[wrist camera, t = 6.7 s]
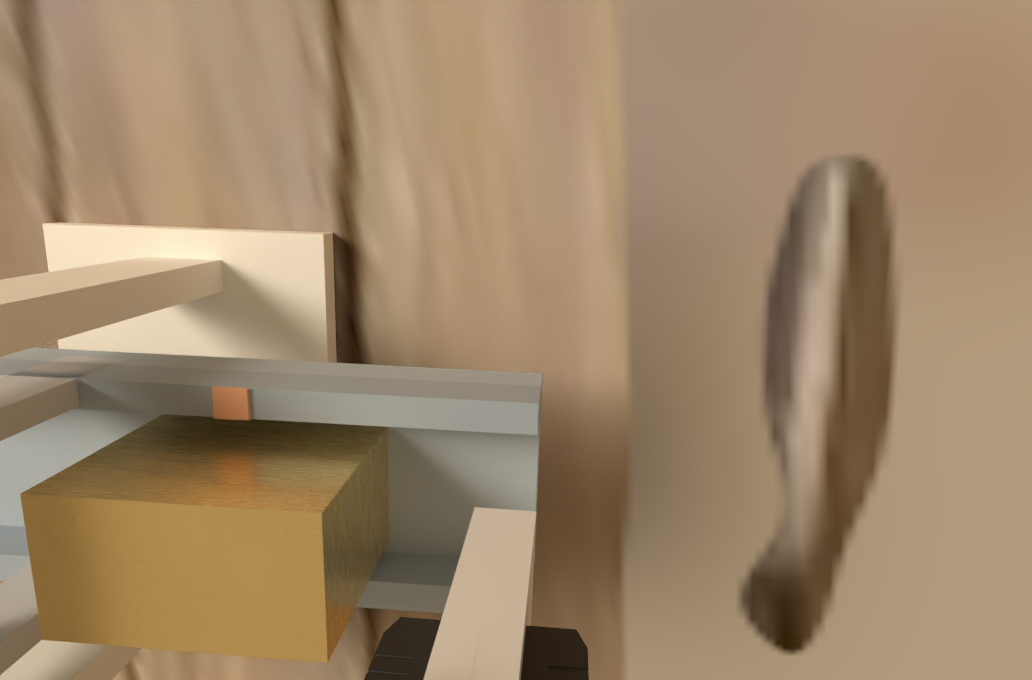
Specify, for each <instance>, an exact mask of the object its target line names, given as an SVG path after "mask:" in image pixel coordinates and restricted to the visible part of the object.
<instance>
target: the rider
mask: <svg viewBox="0 0 1032 680" xmlns="http://www.w3.org/2000/svg"><path fill="white" fill-rule="evenodd" d="M20 497H21V503H22V510H23V517H24V523H25V530H26V536H27V543H28V550H29V556H30V563H31V570H32V576H33V583H34V589H35V596H36V603H37V609H38V616H39V623H40V629H41V636H42V640H49V641H62V642H74V643H87V644H99V645H112V646H124V647H137V648H149V649H162V650H174V651H187V652H200V653H212V654H225V655H237V656H250V657H262V658H275V659H287V660H300V661H312V662H325V663H328V661H329V659H330V657H331V655H332V653H333V651H334V649H335V647H336V645H337V643H338V641H339V639H340V637H341V635H342V633H343V631H344V629H345V627H346V625H347V623H348V621H349V619H350V617H351V615H352V613H353V611H354V609H355V607H356V605H357V603H358V601H359V599H360V597H361V595H362V593H363V591H364V589H365V587H366V586H367V584H368V582H369V580H370V578H371V576H372V574H373V572H374V570H375V568H376V566H377V564H378V562H379V560H380V558H381V556H382V554H383V552H384V550H385V548H386V546H387V544H388V542H389V492H388V427H383V426H365V425H348V424H330V423H312V422H294V421H277V420H259V419H250V420H249V421H248V420H231V419H214V417H206V416H188V415H170V414H162V415H161V416H159V417H157V418H155V419H153V420H152V421H150V422H148V423H146V424H144V425H143V426H141V427H139V428H137V429H136V430H134V431H132V432H130V433H128V434H127V435H125V436H123V437H121V438H119V439H118V440H116V441H114V442H112V443H110V444H109V445H107V446H105V447H103V448H101V449H100V450H98V451H96V452H94V453H93V454H91V455H89V456H87V457H85V458H84V459H82V460H80V461H78V462H76V463H75V464H73V465H71V466H69V467H67V468H66V469H64V470H62V471H60V472H59V473H57V474H55V475H53V476H51V477H50V478H48V479H46V480H44V481H42V482H41V483H39V484H37V485H35V486H33V487H32V488H30V489H28V490H26V491H25V492H23V493H21V494H20Z"/></svg>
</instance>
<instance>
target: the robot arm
mask: <svg viewBox="0 0 1032 680" xmlns="http://www.w3.org/2000/svg"><path fill="white" fill-rule="evenodd" d="M535 529H536V511H523V510H509V509H494V508H480V507H475V508H474V511H473V515H472V518H471V521H470V525H469V528H468V531H467V535H466V538H465V542H464V545H463V548H462V552H461V555H460V558H459V562H458V565H457V568H456V572H455V575H454V578H453V582H452V585H451V589H450V592H449V595H448V599H447V602H446V605H445V609H444V612H443V615H442V619H441V620H430V619H418V618H406V617H400V618H399V619H398V620H397V621H396V622H395V623H394V624H393V625H392V626H391V627H390V628H389V629H388V630H386V631H385V632H384V633H383V636H382V638H381V641H380V643H379V645H378V648H377V650H376V653H375V657H373V660H372V662H371V665H370V667H369V671H368V673H367V674H366V677H365V679H364V680H589V677H588V650H587V647H586V645H585V643H584V642H583V640H582V638H581V637H580V635H579V633H578V632H577V630H575V629H562V628H550V627H538V626H530V625H531V614H532V595H533V573H534V551H535Z"/></svg>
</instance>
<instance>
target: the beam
mask: <svg viewBox="0 0 1032 680" xmlns="http://www.w3.org/2000/svg"><path fill="white" fill-rule="evenodd" d="M542 378H543V373H530V372H510V371H490V370H470V369H450V368H430V367H410V366H390V365H370V364H350V363H330V362H310V361H290V360H271V359H251V358H231V357H211V356H191V355H171V354H151V353H131V352H111V351H91V350H71V349H51V348H29V349H25V350H22V351H19V352H15V353H12V354H8V355H5V356H2V357H0V581H5V582H3V583H2V584H0V675H1V674H2V673H4V672H5V671H6V670H7V669H8V668H9V667H11V666H12V665H13V664H14V663H15V662H16V661H18V660H19V659H20V658H21V657H22V656H23V655H25V654H26V653H27V652H28V651H29V650H30V649H32V648H33V647H34V646H35V645H36V644H37V643H39V642H40V641H41V640H42V636H41V629H40V623H39V616H38V609H37V603H36V596H35V589H34V583H33V576H32V570H31V563H30V556H29V550H28V543H27V536H26V530H25V523H24V517H23V510H22V503H21V497H20V494H21V493H23V492H25V491H26V490H28V489H30V488H32V487H33V486H35V485H37V484H39V483H41V482H42V481H44V480H46V479H48V478H50V477H51V476H53V475H55V474H57V473H59V472H60V471H62V470H64V469H66V468H67V467H69V466H71V465H73V464H75V463H76V462H78V461H80V460H82V459H84V458H85V457H87V456H89V455H91V454H93V453H94V452H96V451H98V450H100V449H101V448H103V447H105V446H107V445H109V444H110V443H112V442H114V441H116V440H118V439H119V438H121V437H123V436H125V435H127V434H128V433H130V432H132V431H134V430H136V429H137V428H139V427H141V426H143V425H144V424H146V423H148V422H150V421H152V420H153V419H155V418H157V417H159V416H161V415H162V414H170V415H188V416H206V417H214V419H231V420H248V421H249V420H250V419H259V420H277V421H294V422H312V423H330V424H348V425H365V426H383V427H388V492H389V542H388V544H387V546H386V548H385V550H384V552H383V554H382V556H381V558H380V560H379V562H378V564H377V566H376V568H375V570H374V572H373V574H372V576H371V578H370V580H369V582H368V584H367V586H366V587H365V589H364V591H363V593H362V595H361V597H360V599H359V601H358V603H357V605H356V607H362V608H375V609H389V610H402V611H415V612H429V613H442V614H443V612H444V609H445V605H446V602H447V599H448V595H449V592H450V589H451V585H452V582H453V578H454V575H455V572H456V568H457V565H458V562H459V558H460V555H461V552H462V548H463V545H464V542H465V538H466V535H467V531H468V528H469V525H470V521H471V518H472V515H473V511H474V508H475V507H480V508H494V509H509V510H523V511H536V521H537V497H538V473H539V449H540V425H541V401H542ZM535 545H536V529H535ZM534 566H535V551H534ZM533 578H534V573H533Z"/></svg>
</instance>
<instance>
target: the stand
mask: <svg viewBox="0 0 1032 680" xmlns="http://www.w3.org/2000/svg"><path fill="white" fill-rule="evenodd" d="M43 231H44V238H45V246H46V254H47V262H48V270H49V272H46V273H40V274H34V275H27V276H21V277H15V278H8V279H2V280H0V357H2V356H5V355H8V354H12V353H15V352H19V351H22V350H25V349H29V348H32V347H36V346H39V345H42V344H46V343H49V342H53V341H56V340H58V347H59V349H71V350H91V351H111V352H131V353H151V354H171V355H191V356H211V357H231V358H251V359H271V360H290V361H310V362H330V363H337V353H336V321H335V289H334V257H333V233H329V232H303V231H276V230H249V229H223V228H196V227H170V226H143V225H116V224H90V223H63V222H62V223H46V224H43ZM140 649H141V648H137V647H124V646H112V645H99V644H87V643H74V642H62V641H49V640H41V641H40V642H39V643H37V644H36V645H35V646H34V647H33V648H32V649H30V650H29V651H28V652H27V653H26V654H25V655H23V656H22V657H21V658H20V659H19V660H18V661H16V662H15V663H14V664H13V665H12V666H11V667H9V668H8V669H7V670H6V671H5V672H4V673H2V674H1V675H0V680H112V679H113V678H114V677H115V676H116V675H117V674H118V673H119V672H120V671H121V670H122V669H123V667H124V666H125V665H126V664H127V663H128V662H129V661H130V660H131V659H132V658H133V657H134V656H135V655H136V654H137V652H138V651H139V650H140Z"/></svg>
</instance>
